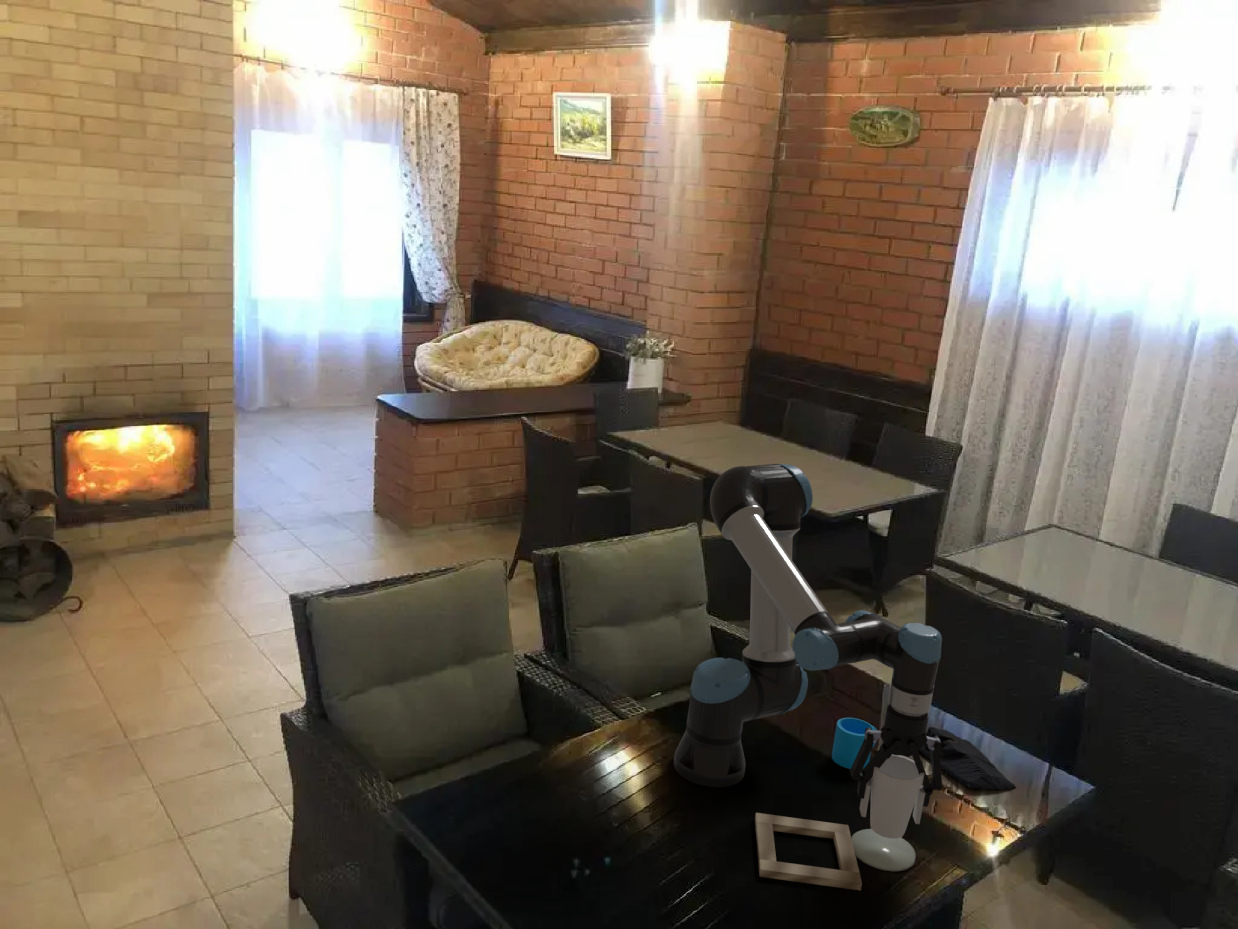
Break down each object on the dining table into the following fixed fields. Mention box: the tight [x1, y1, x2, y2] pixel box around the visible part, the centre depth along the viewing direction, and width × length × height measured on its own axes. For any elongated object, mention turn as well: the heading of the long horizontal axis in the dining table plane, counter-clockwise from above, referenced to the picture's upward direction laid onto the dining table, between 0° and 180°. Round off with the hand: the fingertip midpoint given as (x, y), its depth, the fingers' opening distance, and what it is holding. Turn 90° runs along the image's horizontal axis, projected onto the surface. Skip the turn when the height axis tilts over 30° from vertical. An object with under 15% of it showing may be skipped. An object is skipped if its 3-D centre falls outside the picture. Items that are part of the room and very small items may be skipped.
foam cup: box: [869, 754, 924, 839], centre depth 192 cm, size 10×9×13 cm
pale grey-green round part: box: [851, 828, 916, 872], centre depth 195 cm, size 12×12×1 cm
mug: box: [831, 717, 877, 770], centre depth 228 cm, size 12×8×8 cm
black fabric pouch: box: [918, 726, 1017, 791], centre depth 230 cm, size 15×22×5 cm
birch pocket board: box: [754, 812, 863, 891], centre depth 192 cm, size 18×18×2 cm
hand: (889, 816), depth 193 cm, fingers closed on foam cup, 9 cm apart
